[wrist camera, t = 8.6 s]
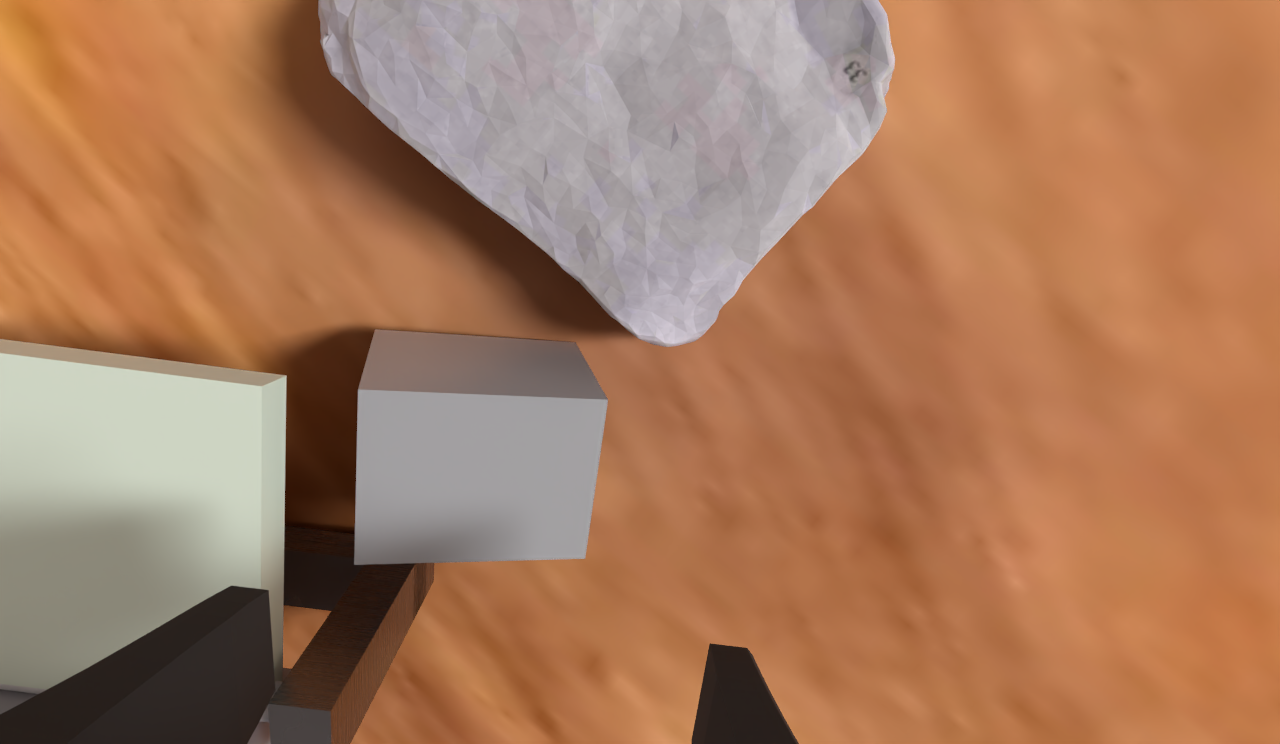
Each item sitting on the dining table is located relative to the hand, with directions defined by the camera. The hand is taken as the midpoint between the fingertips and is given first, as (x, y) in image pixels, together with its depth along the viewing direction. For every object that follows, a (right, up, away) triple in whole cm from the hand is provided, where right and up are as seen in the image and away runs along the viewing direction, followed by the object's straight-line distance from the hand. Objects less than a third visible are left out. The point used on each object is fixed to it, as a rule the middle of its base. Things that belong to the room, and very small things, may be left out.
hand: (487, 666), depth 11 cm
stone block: (+2, +13, +7) cm, 15 cm away
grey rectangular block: (-4, +3, +6) cm, 8 cm away
